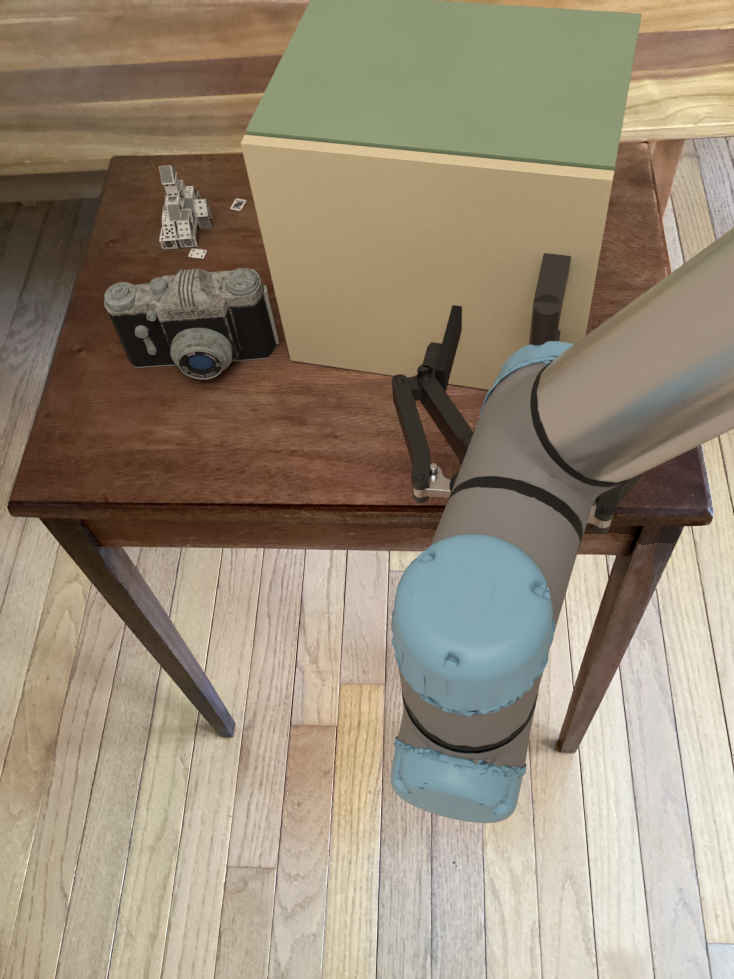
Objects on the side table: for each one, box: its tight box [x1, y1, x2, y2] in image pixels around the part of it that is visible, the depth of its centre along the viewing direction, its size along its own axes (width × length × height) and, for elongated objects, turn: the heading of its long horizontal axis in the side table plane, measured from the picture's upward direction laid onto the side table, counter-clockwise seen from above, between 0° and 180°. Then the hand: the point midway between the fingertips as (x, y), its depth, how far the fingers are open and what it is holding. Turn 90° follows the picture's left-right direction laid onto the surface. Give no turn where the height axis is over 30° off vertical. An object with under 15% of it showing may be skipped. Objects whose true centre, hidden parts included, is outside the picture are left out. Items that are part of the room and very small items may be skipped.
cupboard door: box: [240, 134, 615, 391], centre depth 73 cm, size 7×26×24 cm, turn 76°
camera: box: [103, 267, 280, 381], centre depth 84 cm, size 15×7×10 cm, turn 91°
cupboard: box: [245, 0, 642, 172], centre depth 79 cm, size 18×26×24 cm
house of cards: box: [158, 164, 248, 260], centre depth 95 cm, size 9×9×8 cm
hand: (544, 328), depth 71 cm, fingers open, 13 cm apart
